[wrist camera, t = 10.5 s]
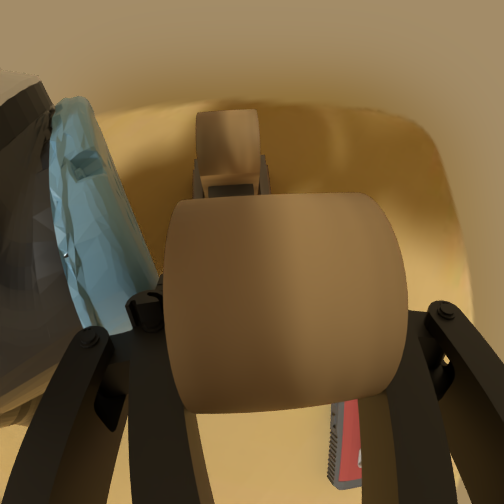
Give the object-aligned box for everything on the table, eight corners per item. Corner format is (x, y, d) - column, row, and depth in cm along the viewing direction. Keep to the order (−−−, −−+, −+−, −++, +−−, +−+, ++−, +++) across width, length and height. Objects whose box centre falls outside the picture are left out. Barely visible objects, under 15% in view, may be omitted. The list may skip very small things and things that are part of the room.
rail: (201, 366, 27) (163, 390, 13) (194, 176, 32) (171, 84, 19) (285, 360, 27) (324, 379, 14) (266, 172, 33) (279, 77, 19)
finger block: (227, 370, 16) (172, 444, 4) (222, 270, 17) (172, 123, 5) (298, 365, 16) (416, 414, 4) (290, 265, 18) (365, 119, 6)
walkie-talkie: (395, 473, 23) (403, 306, 29) (413, 486, 19) (424, 301, 25) (322, 488, 23) (328, 310, 29) (333, 506, 19) (342, 305, 25)
